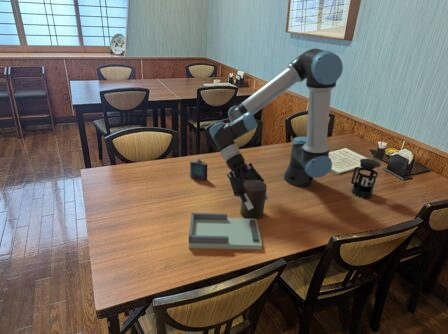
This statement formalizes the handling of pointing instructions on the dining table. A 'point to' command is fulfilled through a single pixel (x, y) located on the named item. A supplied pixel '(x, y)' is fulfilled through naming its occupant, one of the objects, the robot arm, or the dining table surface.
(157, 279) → the dining table surface
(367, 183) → the french press
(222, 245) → the deck plate
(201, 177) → the flask
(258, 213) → the pillar candle
